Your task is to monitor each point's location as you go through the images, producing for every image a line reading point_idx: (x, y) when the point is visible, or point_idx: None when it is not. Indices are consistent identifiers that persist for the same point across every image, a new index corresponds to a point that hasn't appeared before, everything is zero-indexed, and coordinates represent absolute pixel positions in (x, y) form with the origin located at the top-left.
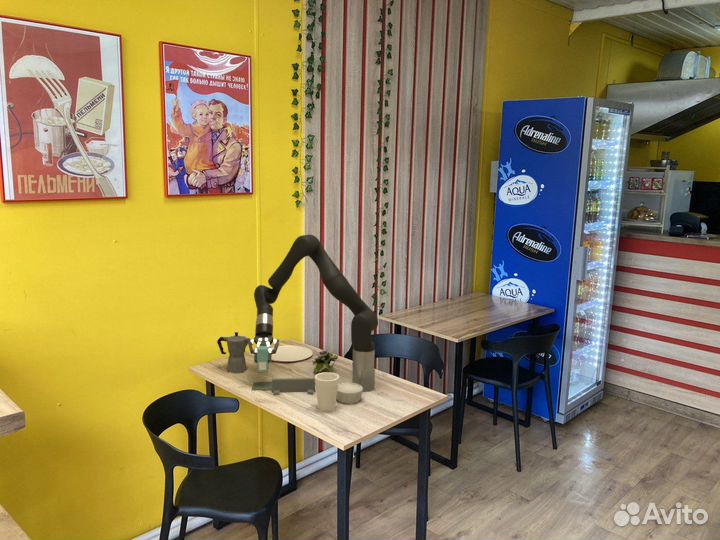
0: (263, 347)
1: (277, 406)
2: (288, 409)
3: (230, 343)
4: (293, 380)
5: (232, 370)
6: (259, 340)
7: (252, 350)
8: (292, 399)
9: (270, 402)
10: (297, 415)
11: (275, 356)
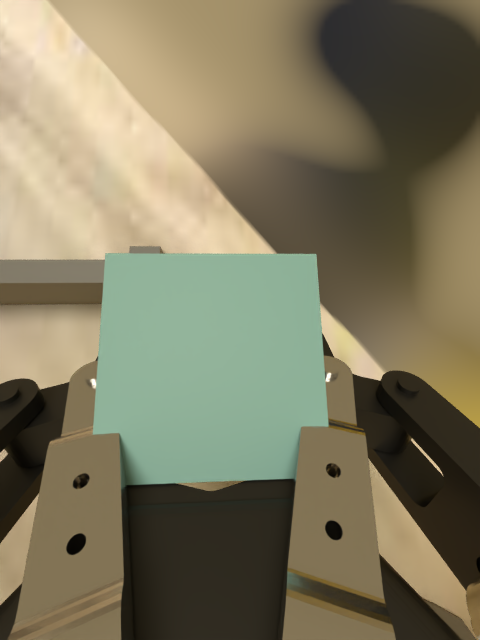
0: (200, 367)
1: (143, 135)
2: (96, 105)
3: None
4: (14, 261)
5: (441, 616)
6: (355, 635)
7: (389, 383)
8: (72, 200)
9: (174, 175)
10: (62, 53)
11: None
